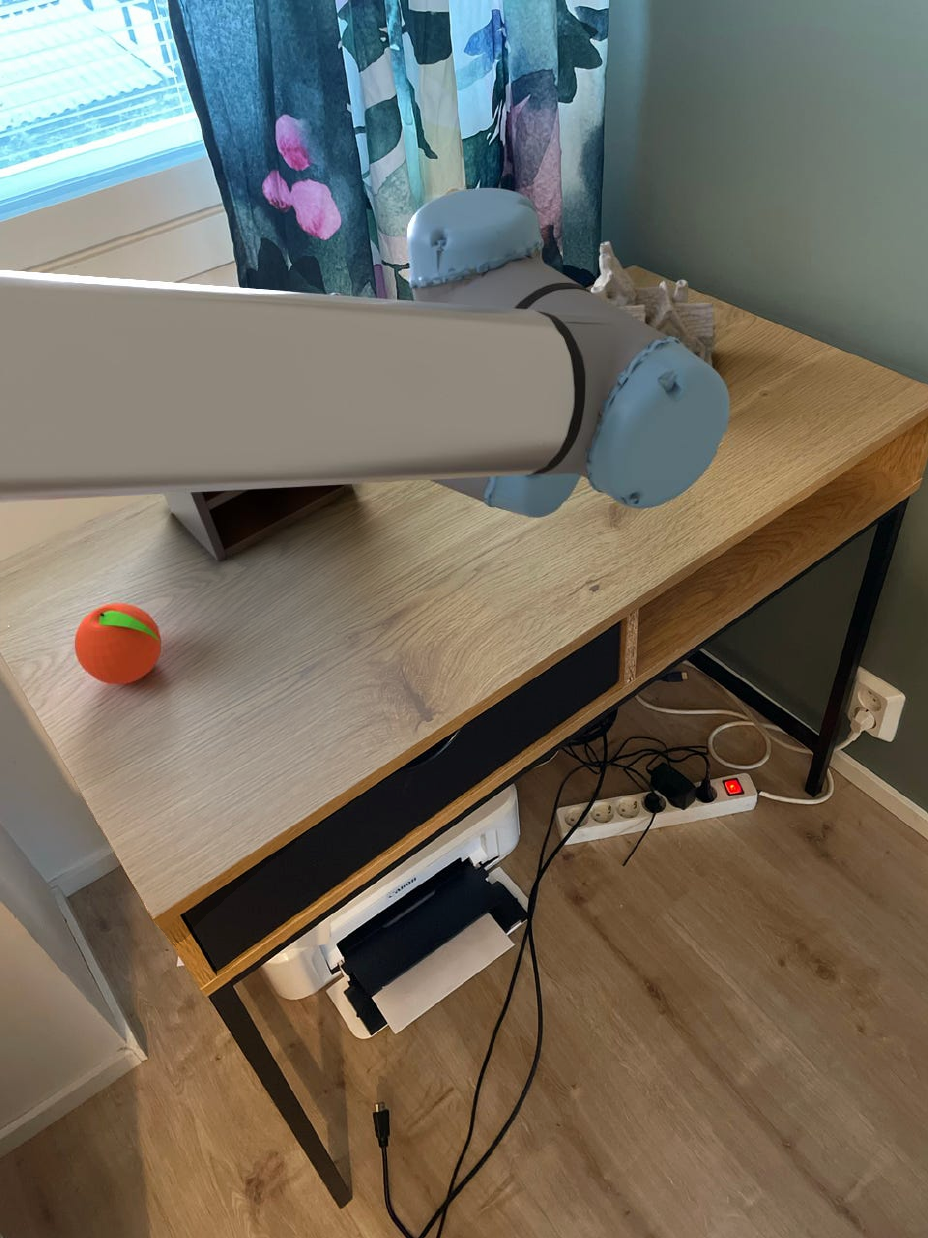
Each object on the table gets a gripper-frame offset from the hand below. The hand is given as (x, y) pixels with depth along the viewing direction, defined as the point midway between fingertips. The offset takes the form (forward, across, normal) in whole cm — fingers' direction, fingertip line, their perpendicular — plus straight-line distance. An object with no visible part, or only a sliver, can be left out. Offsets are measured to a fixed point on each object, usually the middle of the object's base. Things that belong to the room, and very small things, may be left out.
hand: (192, 340), depth 75 cm
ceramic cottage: (-19, +42, -22) cm, 51 cm away
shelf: (+4, +4, -22) cm, 22 cm away
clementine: (-4, -19, -22) cm, 29 cm away
